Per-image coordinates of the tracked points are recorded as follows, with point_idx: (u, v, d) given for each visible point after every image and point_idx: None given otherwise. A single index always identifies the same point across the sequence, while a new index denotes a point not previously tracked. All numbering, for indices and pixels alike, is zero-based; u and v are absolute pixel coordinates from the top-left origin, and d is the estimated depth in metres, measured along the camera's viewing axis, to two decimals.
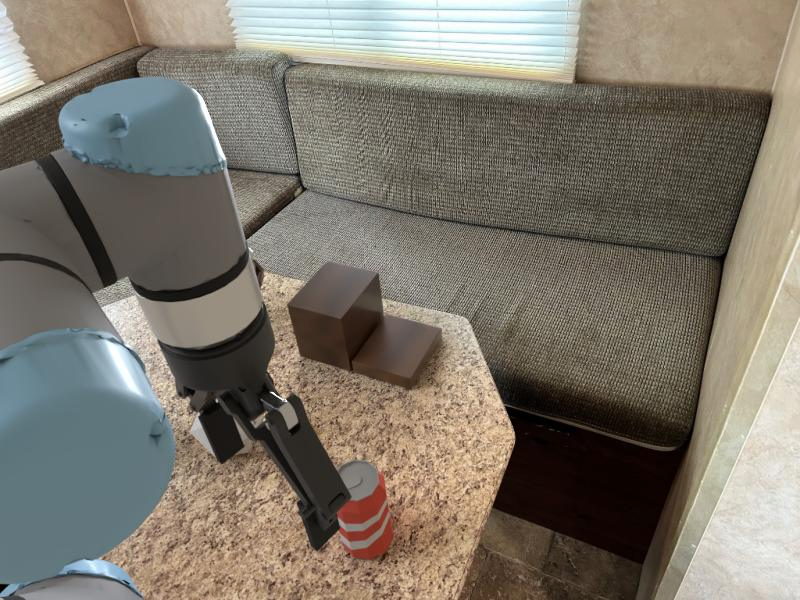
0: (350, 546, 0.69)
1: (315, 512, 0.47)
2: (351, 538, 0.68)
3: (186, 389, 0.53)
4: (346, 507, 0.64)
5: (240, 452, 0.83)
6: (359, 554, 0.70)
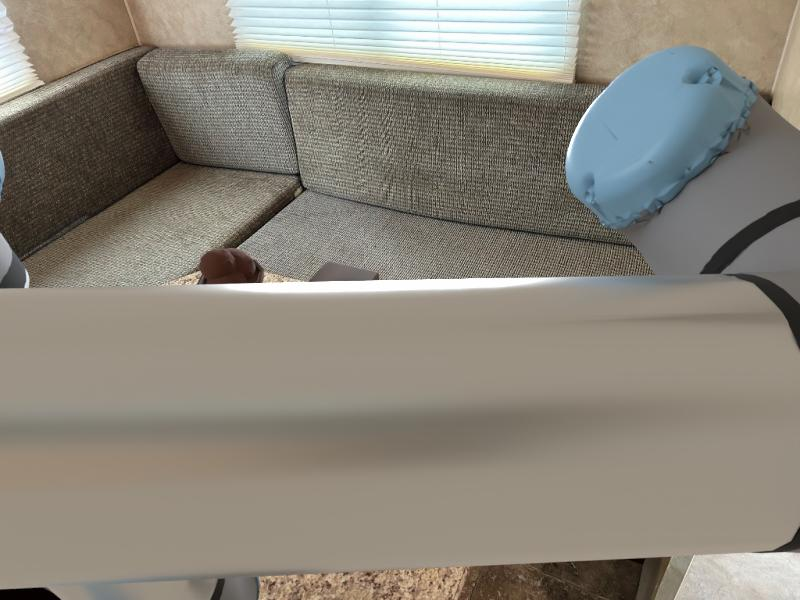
0: None
1: None
2: None
3: None
4: None
5: None
6: None
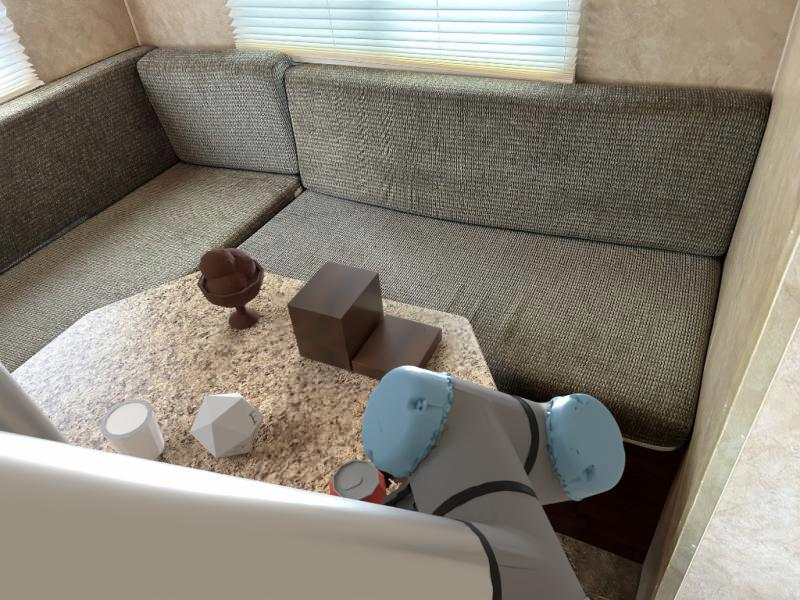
0: None
1: None
2: None
3: None
4: None
5: (240, 452, 0.83)
6: None
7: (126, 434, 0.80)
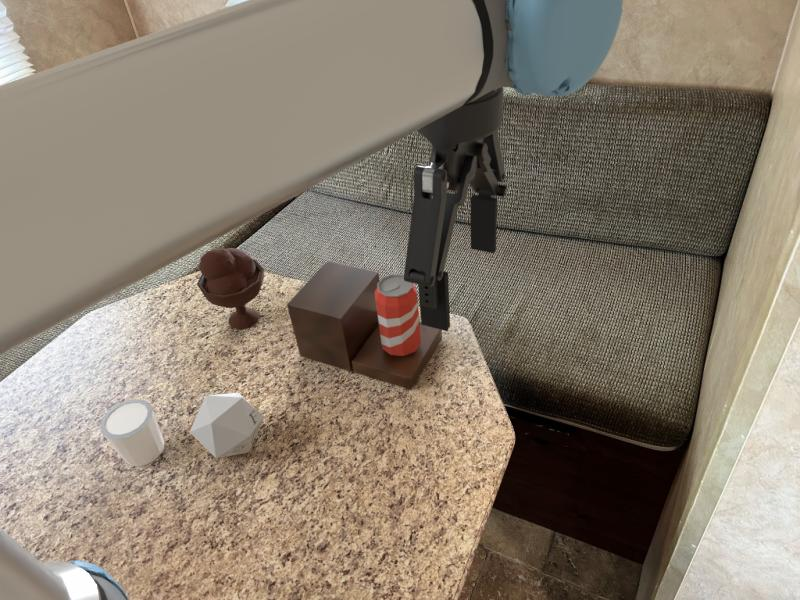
0: (389, 343, 0.91)
1: None
2: (390, 334, 0.90)
3: None
4: (388, 303, 0.86)
5: (240, 452, 0.83)
6: (395, 351, 0.92)
7: (126, 434, 0.80)
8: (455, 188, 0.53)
